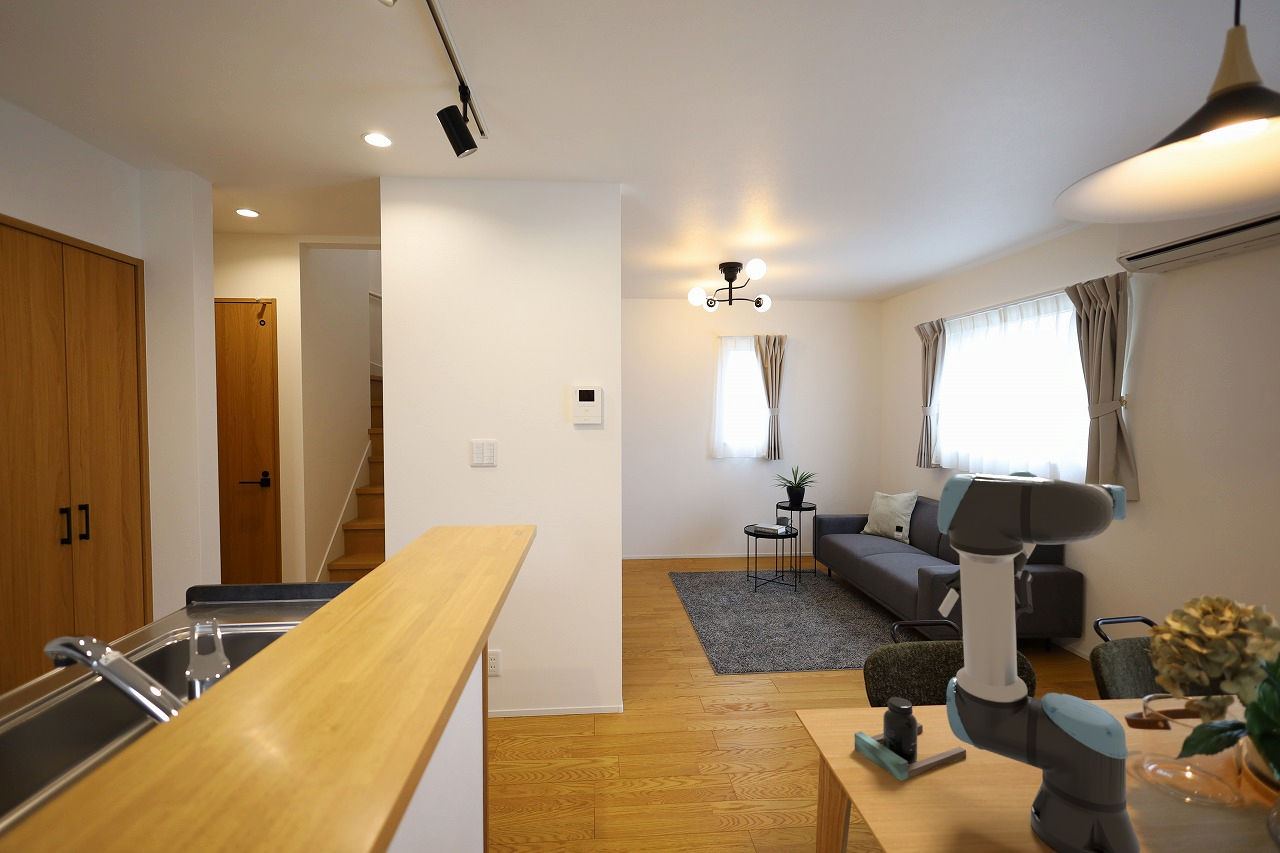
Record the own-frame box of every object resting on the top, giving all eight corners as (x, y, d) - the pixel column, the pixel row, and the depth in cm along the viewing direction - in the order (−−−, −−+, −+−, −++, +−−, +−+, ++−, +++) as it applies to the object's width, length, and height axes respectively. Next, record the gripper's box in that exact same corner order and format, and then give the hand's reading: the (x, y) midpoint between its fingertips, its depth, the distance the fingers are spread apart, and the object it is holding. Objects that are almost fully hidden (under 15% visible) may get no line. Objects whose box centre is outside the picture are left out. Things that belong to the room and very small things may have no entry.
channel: (966, 756, 122) (966, 740, 122) (900, 781, 114) (900, 764, 114) (917, 728, 134) (917, 713, 134) (854, 748, 126) (854, 733, 126)
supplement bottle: (921, 767, 119) (921, 711, 119) (887, 763, 120) (887, 708, 120) (912, 748, 125) (912, 696, 125) (880, 745, 127) (880, 693, 127)
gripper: (1075, 573, 123) (1033, 652, 117) (968, 550, 146) (929, 615, 140) (1060, 552, 121) (1017, 631, 115) (955, 531, 144) (914, 597, 138)
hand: (968, 623), depth 127 cm, fingers open, 13 cm apart
